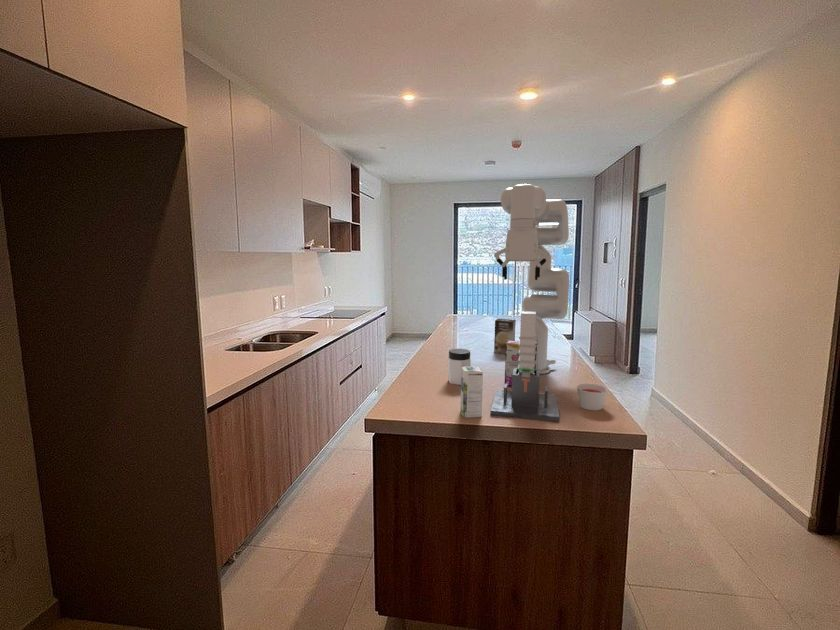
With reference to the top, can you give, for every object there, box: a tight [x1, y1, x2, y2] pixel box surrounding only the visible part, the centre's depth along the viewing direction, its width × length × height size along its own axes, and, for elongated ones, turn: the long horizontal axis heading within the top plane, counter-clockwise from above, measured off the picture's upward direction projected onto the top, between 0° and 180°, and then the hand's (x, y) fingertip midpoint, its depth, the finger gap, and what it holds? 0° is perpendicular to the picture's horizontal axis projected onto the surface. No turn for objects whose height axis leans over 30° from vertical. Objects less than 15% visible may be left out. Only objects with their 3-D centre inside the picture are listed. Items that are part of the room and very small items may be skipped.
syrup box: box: [460, 365, 484, 419], centre depth 132 cm, size 6×6×14 cm
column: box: [518, 310, 536, 375], centre depth 136 cm, size 5×5×22 cm
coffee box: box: [493, 318, 517, 355], centre depth 209 cm, size 9×6×16 cm
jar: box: [447, 348, 472, 386], centre depth 164 cm, size 9×8×12 cm
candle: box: [576, 383, 608, 411], centre depth 138 cm, size 9×9×6 cm
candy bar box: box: [504, 340, 538, 387], centre depth 159 cm, size 11×5×16 cm, turn 71°
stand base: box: [490, 368, 560, 423], centre depth 138 cm, size 20×20×13 cm
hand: (520, 279), depth 139 cm, fingers open, 9 cm apart
